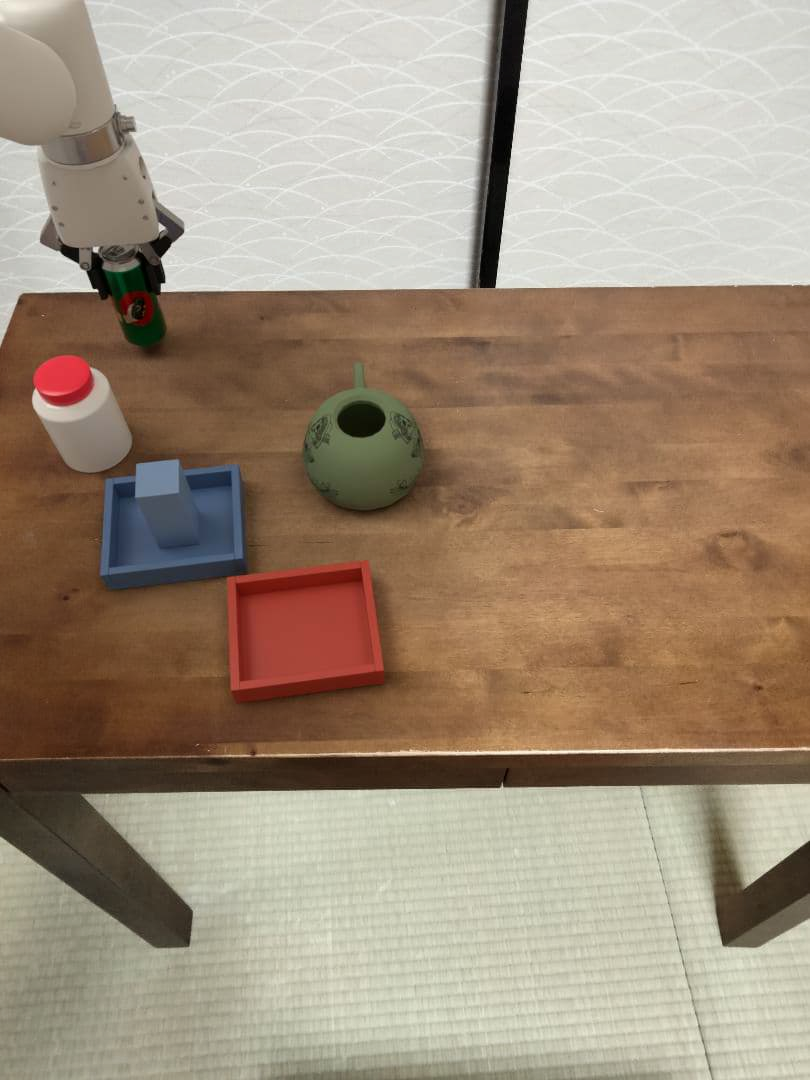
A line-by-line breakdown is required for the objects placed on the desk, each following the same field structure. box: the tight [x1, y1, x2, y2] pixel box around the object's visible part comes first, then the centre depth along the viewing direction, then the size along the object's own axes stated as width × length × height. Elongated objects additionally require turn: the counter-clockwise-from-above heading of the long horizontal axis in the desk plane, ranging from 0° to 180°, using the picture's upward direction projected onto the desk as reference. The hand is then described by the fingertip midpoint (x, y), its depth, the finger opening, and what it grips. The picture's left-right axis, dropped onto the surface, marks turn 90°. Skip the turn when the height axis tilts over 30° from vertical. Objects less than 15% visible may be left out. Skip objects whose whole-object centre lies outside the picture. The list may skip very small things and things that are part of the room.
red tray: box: [226, 559, 386, 704], centre depth 76 cm, size 14×12×3 cm
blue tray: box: [99, 463, 249, 591], centre depth 83 cm, size 14×12×3 cm
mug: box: [301, 361, 426, 511], centre depth 85 cm, size 16×13×9 cm
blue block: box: [135, 458, 199, 549], centre depth 80 cm, size 4×4×9 cm
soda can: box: [97, 244, 168, 348], centre depth 92 cm, size 5×5×12 cm
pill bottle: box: [31, 354, 133, 474], centre depth 85 cm, size 8×8×11 cm
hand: (131, 288), depth 91 cm, fingers closed on soda can, 5 cm apart
